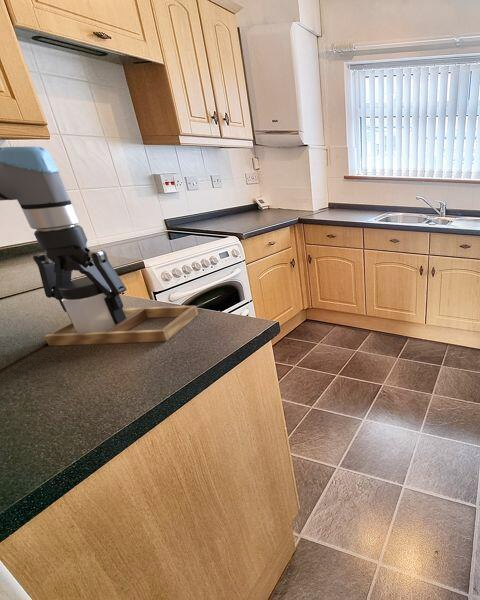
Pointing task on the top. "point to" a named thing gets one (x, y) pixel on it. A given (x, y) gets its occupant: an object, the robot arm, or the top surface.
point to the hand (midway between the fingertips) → (100, 322)
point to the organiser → (127, 328)
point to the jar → (86, 306)
